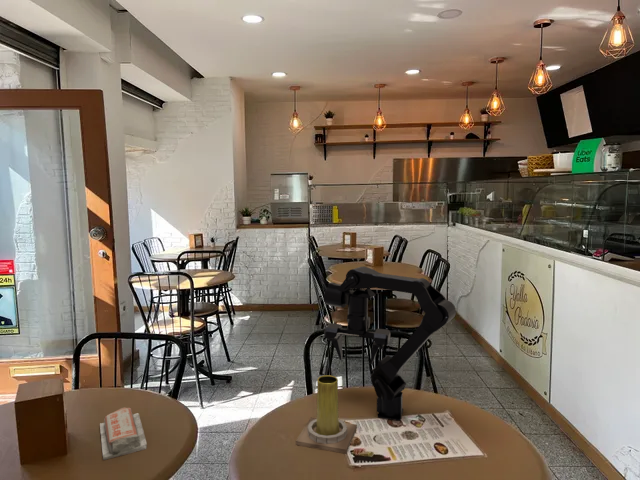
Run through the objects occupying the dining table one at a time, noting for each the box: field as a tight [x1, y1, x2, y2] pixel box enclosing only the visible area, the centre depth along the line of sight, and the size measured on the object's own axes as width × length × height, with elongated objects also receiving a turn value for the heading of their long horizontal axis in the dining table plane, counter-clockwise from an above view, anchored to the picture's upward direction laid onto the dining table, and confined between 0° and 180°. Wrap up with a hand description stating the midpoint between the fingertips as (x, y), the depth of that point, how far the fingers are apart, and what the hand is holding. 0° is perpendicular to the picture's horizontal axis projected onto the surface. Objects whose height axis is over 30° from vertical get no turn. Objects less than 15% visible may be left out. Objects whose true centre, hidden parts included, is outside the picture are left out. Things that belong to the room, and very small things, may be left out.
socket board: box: [295, 417, 358, 454], centre depth 113 cm, size 13×12×2 cm
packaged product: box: [99, 407, 148, 461], centre depth 113 cm, size 18×5×10 cm
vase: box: [316, 374, 340, 436], centre depth 113 cm, size 6×6×14 cm
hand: (356, 361), depth 129 cm, fingers open, 9 cm apart
